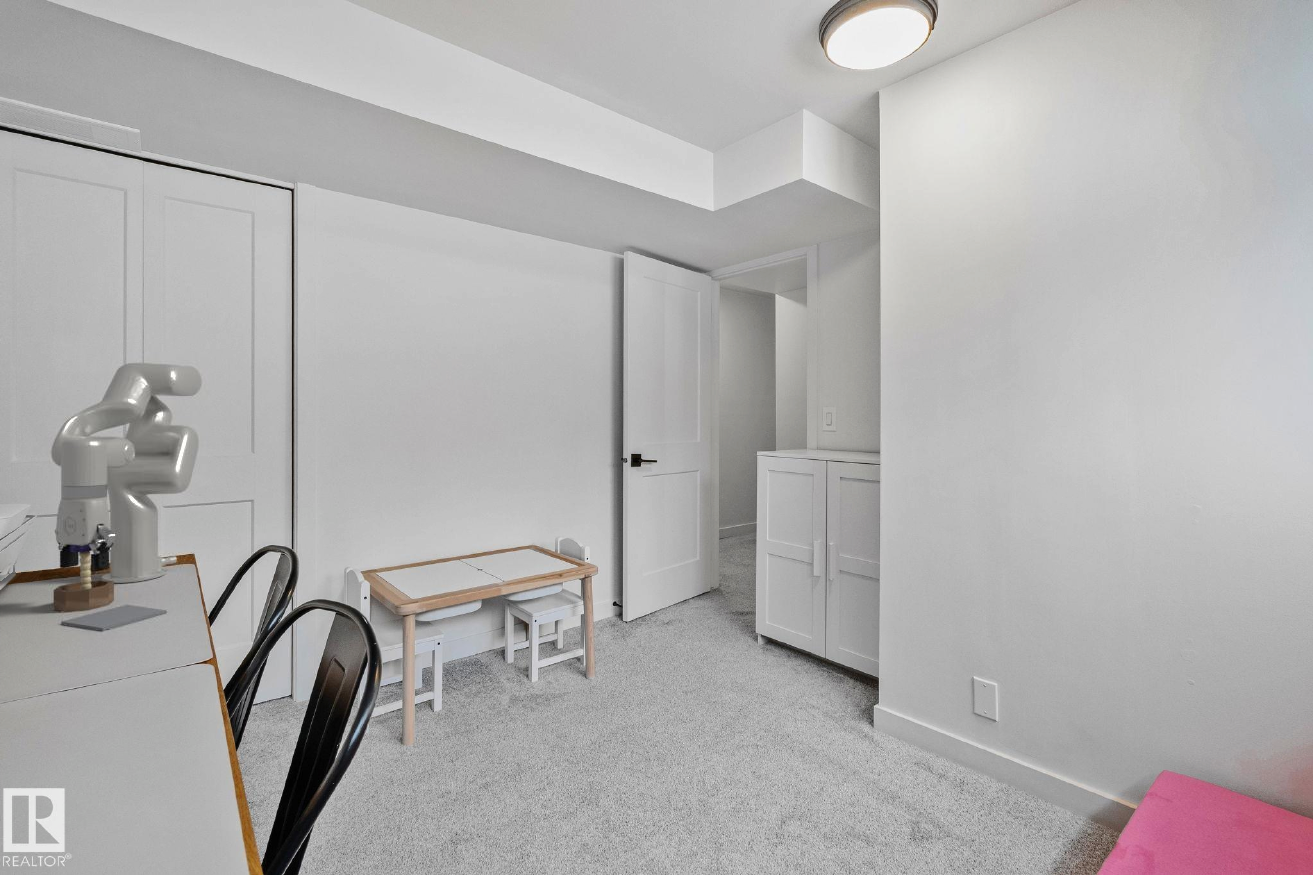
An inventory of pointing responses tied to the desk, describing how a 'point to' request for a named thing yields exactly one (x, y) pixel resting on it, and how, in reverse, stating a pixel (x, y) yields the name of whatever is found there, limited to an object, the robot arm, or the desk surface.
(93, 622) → the mat
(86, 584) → the toy lamp
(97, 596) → the holder ring
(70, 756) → the desk surface
